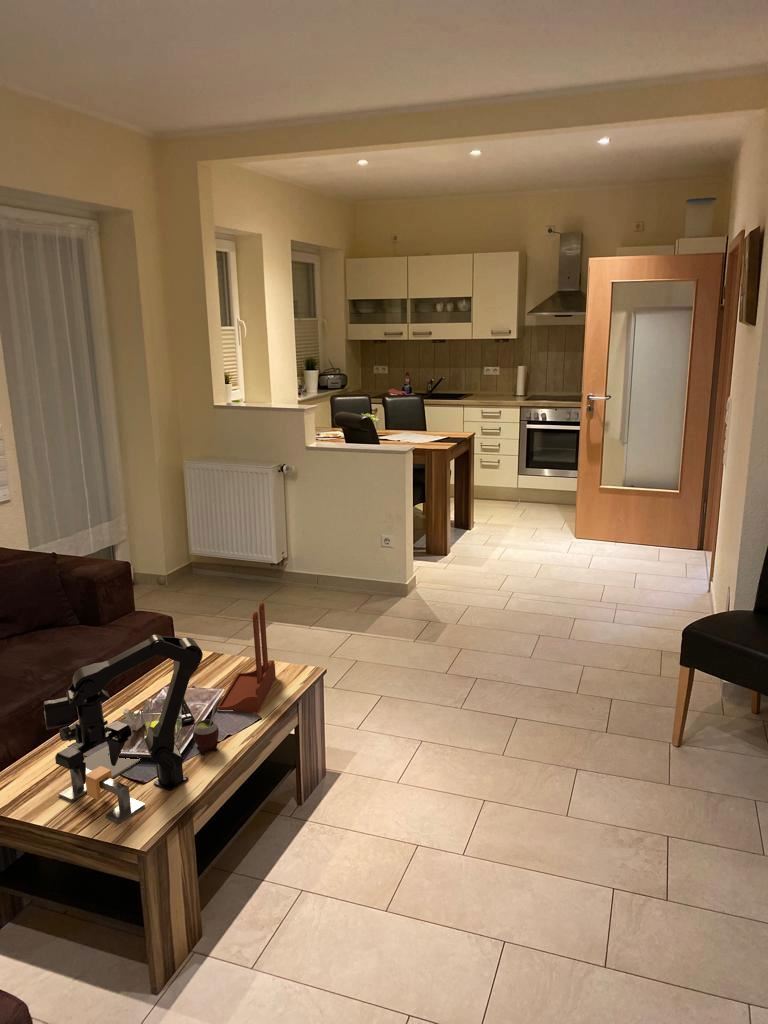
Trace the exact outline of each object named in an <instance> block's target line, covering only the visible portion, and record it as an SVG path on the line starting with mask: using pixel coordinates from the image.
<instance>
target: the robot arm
mask: <svg viewBox="0 0 768 1024" xmlns="http://www.w3.org/2000/svg"><path fill="white" fill-rule="evenodd" d="M156 656H162V657H164V658H168V660H172V661H173V673H172V676H171V679H170V682H169V686H168V689H167V692H166V696H165V699H164V702H163V706H162V708H161V709H162V710H161V711H160V715H159V719H158V721H157V723H156V724H155V725H154V726H150V725H149V726H148V728H147V734H146V737H145V738H144V739H143V740H144V743H145V747H146V749H147V752H148V754H149V756H150V759H151V760H152V761H153V763H156V764H155V767H156V775H157V779H156V780H153V785H156V786H158V787H160V788H163V789H165V790H167V791H173V790H174V789H175V788H178V787H179V786H180V785H181V784H184V783H185V782H186V781H187V780H188V779H189V776H187V775H185V774H184V771H183V769H184V768H183V761H184V757H183V756H182V754H181V752H180V750H179V747H178V745H177V743H176V741H175V738H176V737H175V735H176V734H175V729H176V726H177V722H178V718H179V716H180V712H181V708H182V705H183V703H184V702H183V701H184V700H185V699H184V698H185V696H186V693H187V690H188V689H187V688H188V686H189V682H190V680H191V677H192V676H193V674H195V673H196V672H197V670H198V668H199V665H200V664H201V662H202V660H203V656H204V655H203V650H202V649H201V647H200V646H199V645H198V643H197V642H196V640H194V638H191V637H182V638H180V637H176V636H163V635H160V634H153V635H151V636H150V637H149V638H147V639H145V640H144V641H141V642H139V643H138V644H137V645H134V646H132V647H130V648H128V649H126V650H124V651H123V652H121V653H119V654H117V655H115V656H113V657H112V658H110V659H107V660H105V661H102V662H95V663H94V662H93V663H90V664H89V665H86V666H83V667H80V668H78V669H77V670H76V671H75V672H74V673H73V676H72V682H71V684H70V686H69V687H68V689H67V690H66V693H65V695H66V697H61V698H57V699H51V700H50V699H49V700H45V701H43V708H44V711H43V714H44V719H45V728H46V730H47V731H48V730H51V729H56V728H59V731H58V732H59V737H60V740H61V741H62V742H72V741H75V743H76V744H81V746H80V747H78V748H74V747H71V746H68V747H65V748H64V749H62V750H59V751H58V752H57V753H56V755H55V757H54V760H55V765H58V766H59V767H63V768H65V769H68V770H70V769H72V770H73V771H74V773H75V774H76V776H77V777H78V779H79V781H80V782H81V784H85V782H86V763H85V762H83V761H84V759H85V754H88V753H90V752H91V751H93V750H95V749H96V748H98V747H101V745H103V744H104V743H107V746H109V753H110V761H111V765H112V766H115V765H116V763H117V760H118V758H119V755H120V753H121V752H123V751H122V750H123V748H124V746H125V744H126V742H127V741H128V740H129V737H131V736H132V735H133V733H132V726H130V725H129V724H127V723H123V722H122V721H118V720H116V721H113V722H112V723H110V724H109V723H108V720H107V719H105V718H104V713H103V711H104V710H103V704H102V703H103V702H104V701H105V702H106V701H108V700H110V695H109V693H108V691H107V690H105V688H106V687H107V686H108V685H109V684H110V683H111V682H112V681H113V680H114V679H115V678H117V677H119V676H121V675H123V674H124V673H126V672H128V671H130V670H132V669H134V668H135V667H136V668H137V666H139V665H141V664H142V663H145V662H146V661H148V660H150V659H152V658H155V657H156ZM75 708H76V710H77V716H78V717H77V718H78V722H76V723H74V720H76V711H75ZM72 723H74V724H73V725H72ZM69 725H71V726H69ZM61 727H62V728H61Z"/></svg>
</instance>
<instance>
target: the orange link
mask: <svg viewBox="0 0 768 1024" xmlns="http://www.w3.org/2000/svg"><path fill="white" fill-rule="evenodd" d="M106 777H108V778H110V779H113V778H112V774H111V770H110V769H107V768H105V767H102V766H99V767H98V768H96V769H94V770H92V771H91V772H89V773H87V774H86V789H87V793H86V794H87V796H88V797H90V798H92V799H95V800H97V801H99V800H100V799H101V798H102V795H101V788H100V785H99V782H100V781H101V780H103V779H105V778H106Z"/></svg>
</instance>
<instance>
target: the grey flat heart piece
mask: <svg viewBox="0 0 768 1024" xmlns="http://www.w3.org/2000/svg"><path fill="white" fill-rule="evenodd" d="M122 713H123V716H124V717H125V719H126V720H127V721H128V722H130V723H131V724H130V725H131V726H132V725H133V724H134V723H136V722H137V721H139V720H140V715H141V710H140V709H136V710H135V711H134V712H132V710H131V709H128V708H125V709H124V710H123V712H122Z"/></svg>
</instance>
